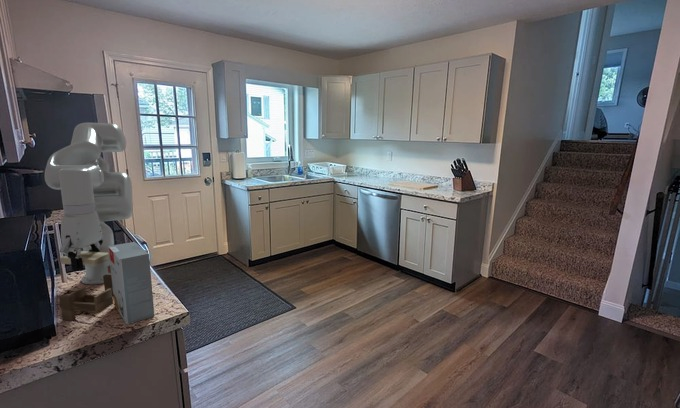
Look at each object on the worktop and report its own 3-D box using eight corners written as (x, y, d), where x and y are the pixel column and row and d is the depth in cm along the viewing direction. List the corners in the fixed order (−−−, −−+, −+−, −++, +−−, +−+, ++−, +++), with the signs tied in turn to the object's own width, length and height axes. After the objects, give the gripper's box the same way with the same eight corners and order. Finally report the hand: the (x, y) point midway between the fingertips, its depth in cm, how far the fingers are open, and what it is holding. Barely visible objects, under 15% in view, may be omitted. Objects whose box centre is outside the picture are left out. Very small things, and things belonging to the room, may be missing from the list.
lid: (78, 256, 106) (77, 250, 106) (110, 258, 106) (109, 252, 105) (61, 263, 101) (60, 257, 100) (95, 266, 100) (94, 259, 99)
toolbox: (99, 293, 114) (96, 273, 113) (125, 295, 113) (123, 275, 112) (51, 319, 97) (48, 296, 96) (82, 321, 96) (79, 298, 95)
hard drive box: (113, 306, 106) (107, 245, 102) (141, 298, 111) (135, 241, 107) (126, 325, 95) (119, 258, 91) (155, 316, 100) (150, 252, 96)
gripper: (91, 202, 108) (97, 255, 112) (40, 215, 92) (49, 276, 95) (113, 204, 108) (118, 256, 111) (65, 216, 91) (74, 278, 95)
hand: (87, 265), depth 103 cm, fingers closed on lid, 6 cm apart
